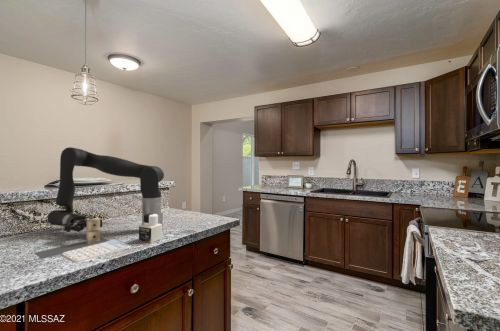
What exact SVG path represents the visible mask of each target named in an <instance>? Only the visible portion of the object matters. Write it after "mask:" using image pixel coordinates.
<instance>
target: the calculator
mask: <svg viewBox="0 0 500 331" xmlns="http://www.w3.org/2000/svg"><path fill="white" fill-rule="evenodd" d="M128 248H130V245H129V244H127V243H124V242H121V241H119V240H115V239H113V240H109V241H107V242H103V243H99V244H95V245H91V246H87V247H83V248H79V249H75V250H71V251H67V252H64V253H62V254H61V256H62V257H65V258H67V259H68V260H70V261H72V262H73V263H81V262H83V261H86V260H91V259H94V258H97V257H101V256H103V255H104V256H105V255H107V254H112V253H116V254H117V252H118V251H123V250H125V249H128Z"/></svg>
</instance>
